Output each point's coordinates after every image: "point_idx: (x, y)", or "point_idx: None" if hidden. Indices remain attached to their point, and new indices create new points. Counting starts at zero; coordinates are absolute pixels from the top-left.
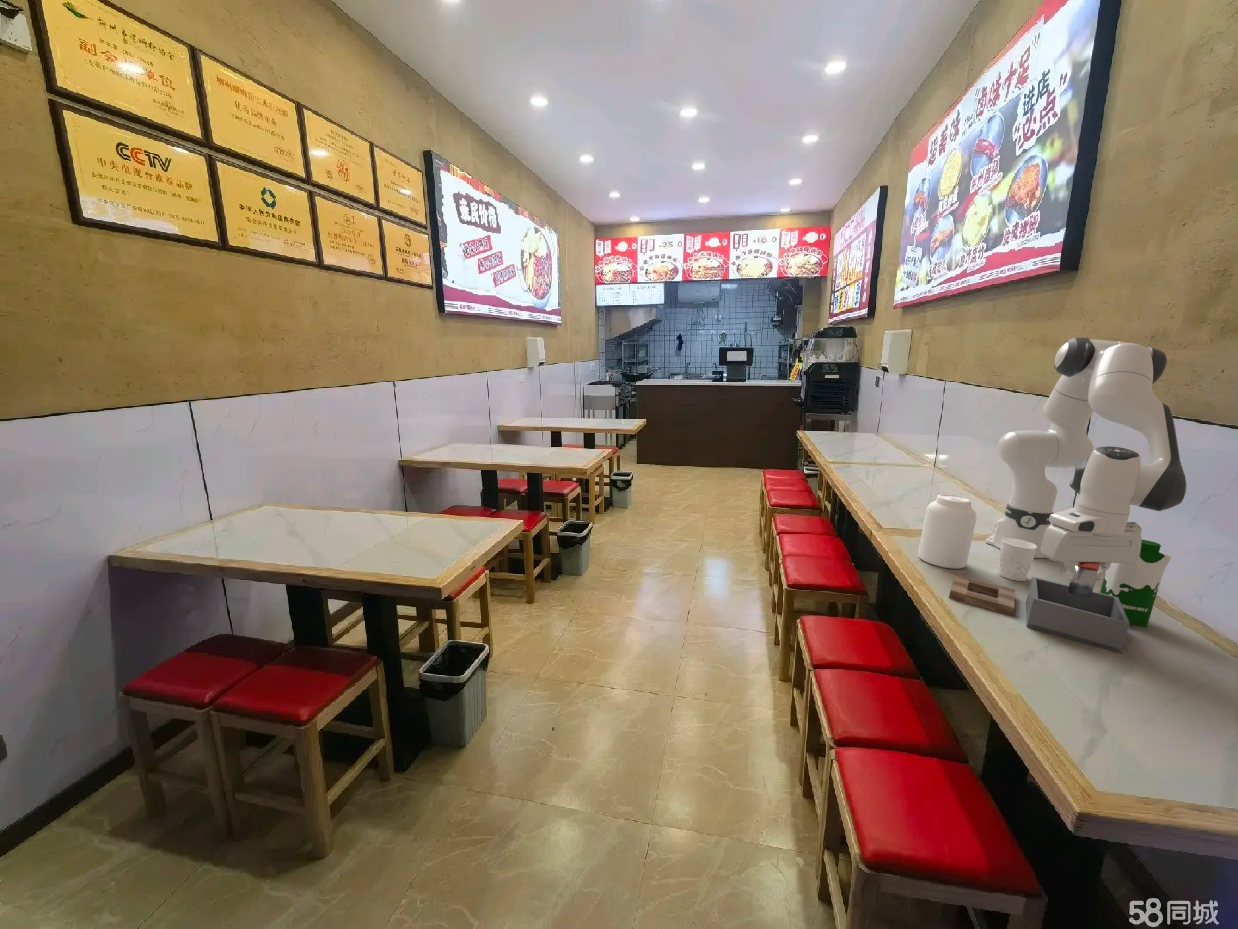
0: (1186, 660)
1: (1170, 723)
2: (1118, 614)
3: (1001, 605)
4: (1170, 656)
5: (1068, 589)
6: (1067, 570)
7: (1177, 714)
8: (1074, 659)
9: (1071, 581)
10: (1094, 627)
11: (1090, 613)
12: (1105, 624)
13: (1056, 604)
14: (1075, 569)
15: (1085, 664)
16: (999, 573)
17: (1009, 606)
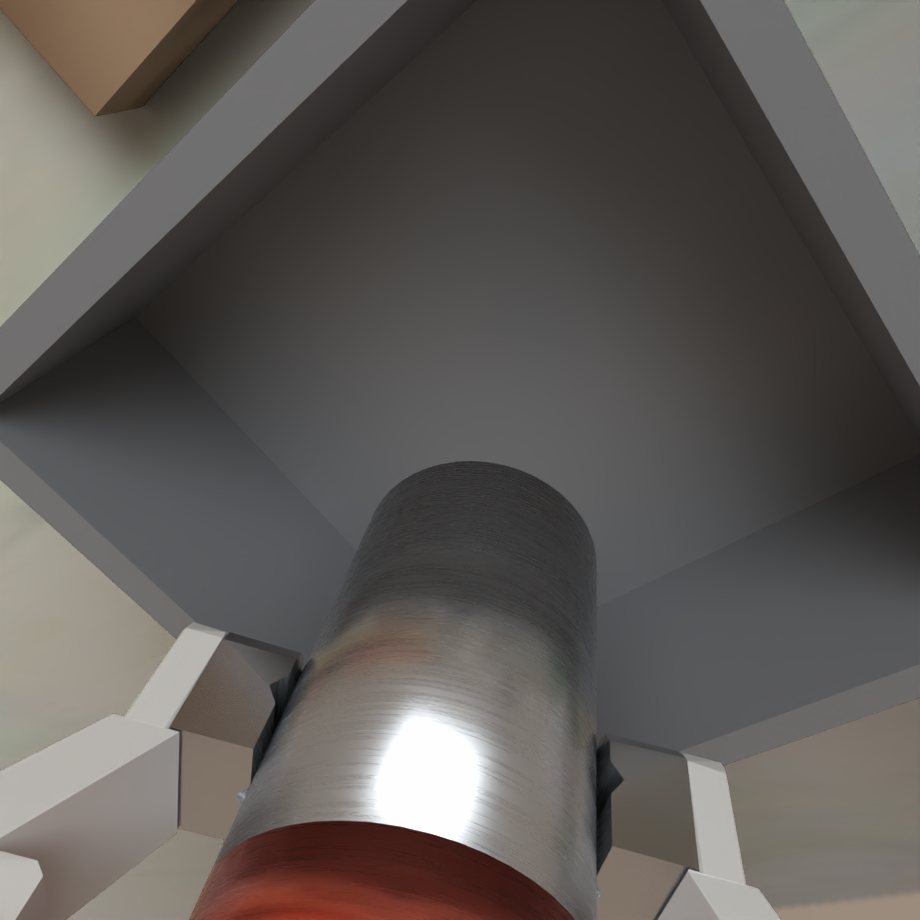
0: (812, 800)
1: (119, 901)
2: (637, 731)
3: (13, 12)
4: (771, 760)
5: (387, 503)
6: (132, 715)
7: None
8: (114, 625)
9: (337, 602)
10: None
11: None
12: None
13: (83, 547)
14: (96, 885)
15: (135, 663)
16: None
17: (62, 74)
